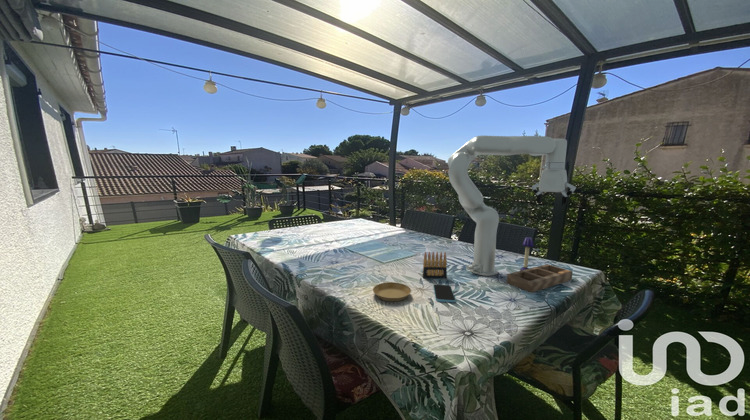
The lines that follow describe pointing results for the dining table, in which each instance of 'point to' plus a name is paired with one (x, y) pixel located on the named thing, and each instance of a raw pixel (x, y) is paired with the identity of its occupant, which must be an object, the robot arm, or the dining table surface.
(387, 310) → the dining table surface
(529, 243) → the toy lamp
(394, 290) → the plant saucer
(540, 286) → the tray
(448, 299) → the smartphone
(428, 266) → the ammunition clip
